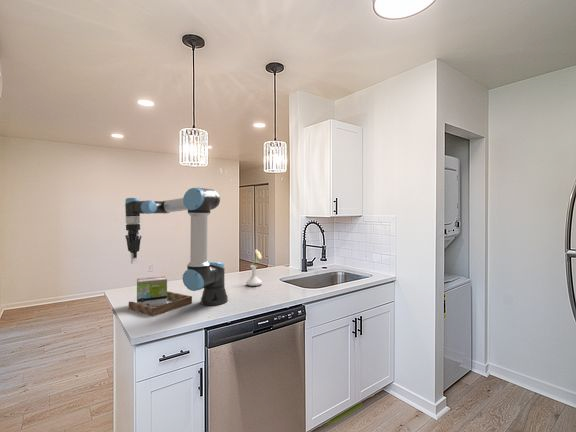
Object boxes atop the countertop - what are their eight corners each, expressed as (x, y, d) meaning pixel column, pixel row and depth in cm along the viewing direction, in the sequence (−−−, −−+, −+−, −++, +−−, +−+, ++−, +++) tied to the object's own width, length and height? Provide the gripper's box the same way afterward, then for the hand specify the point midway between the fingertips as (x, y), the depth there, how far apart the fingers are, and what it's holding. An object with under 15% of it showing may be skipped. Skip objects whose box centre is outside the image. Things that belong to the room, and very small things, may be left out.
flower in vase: (255, 287, 203) (254, 251, 203) (242, 285, 209) (242, 250, 209) (266, 283, 214) (266, 249, 214) (254, 282, 220) (254, 248, 220)
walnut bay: (192, 303, 170) (191, 296, 170) (153, 316, 149) (153, 308, 149) (168, 297, 181) (167, 291, 181) (128, 309, 160) (128, 301, 160)
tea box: (137, 309, 161) (137, 281, 160) (136, 304, 169) (136, 278, 169) (167, 304, 168) (167, 278, 168) (165, 300, 177) (164, 275, 176)
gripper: (145, 223, 177) (146, 263, 178) (132, 223, 184) (133, 261, 185) (133, 224, 171) (134, 265, 171) (120, 224, 178) (121, 263, 178)
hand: (133, 263), depth 178 cm, fingers closed
